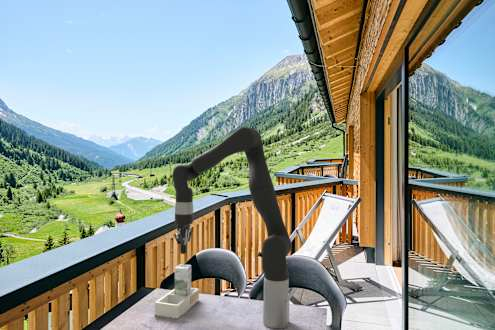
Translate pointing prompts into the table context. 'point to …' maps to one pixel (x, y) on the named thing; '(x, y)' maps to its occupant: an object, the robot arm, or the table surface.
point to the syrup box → (183, 280)
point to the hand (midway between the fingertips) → (183, 253)
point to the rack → (175, 303)
